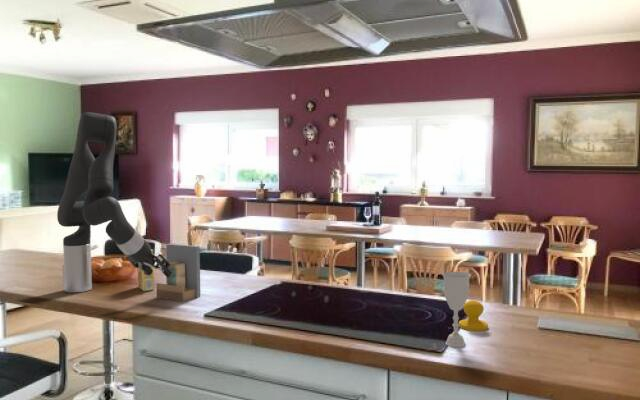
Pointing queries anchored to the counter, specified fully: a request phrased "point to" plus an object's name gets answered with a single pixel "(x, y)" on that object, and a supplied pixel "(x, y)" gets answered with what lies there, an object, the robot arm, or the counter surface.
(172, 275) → the cabinet block
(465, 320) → the doorknob
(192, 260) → the cleat board
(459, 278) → the chalice
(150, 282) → the candy box
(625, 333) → the counter surface
